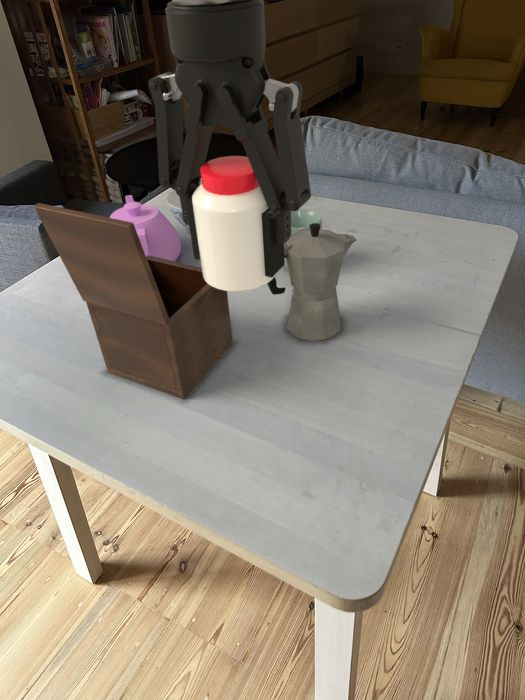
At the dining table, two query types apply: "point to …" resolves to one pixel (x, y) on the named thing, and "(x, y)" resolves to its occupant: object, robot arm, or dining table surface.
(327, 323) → the coffeepot
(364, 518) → the dining table surface
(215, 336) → the chest
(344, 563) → the dining table surface
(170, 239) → the teapot
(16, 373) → the dining table surface
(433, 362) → the dining table surface
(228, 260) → the pill bottle
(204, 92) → the robot arm
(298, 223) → the cup
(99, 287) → the lid
